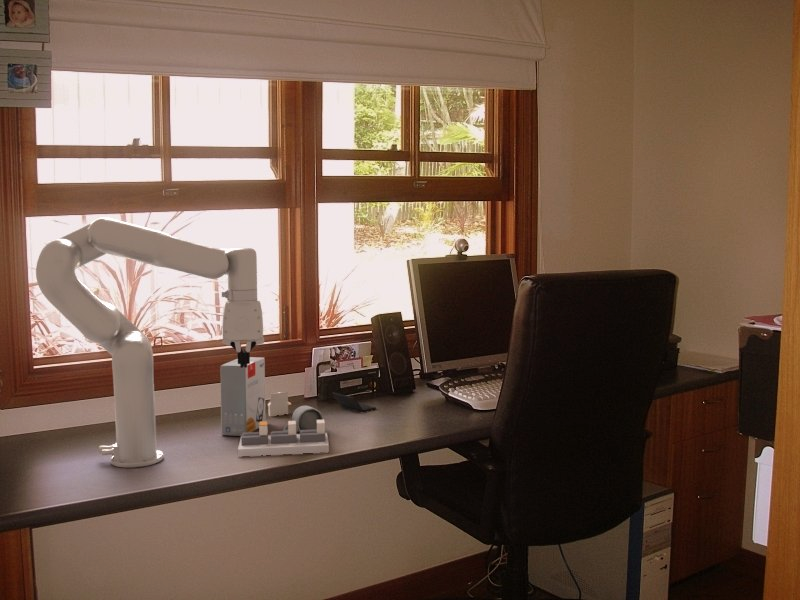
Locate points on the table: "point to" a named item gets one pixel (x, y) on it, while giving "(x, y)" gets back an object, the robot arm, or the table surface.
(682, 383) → the table surface
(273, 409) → the architectural model
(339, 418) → the table surface
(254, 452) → the white slotted rack
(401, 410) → the table surface
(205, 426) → the table surface
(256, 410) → the hard drive box
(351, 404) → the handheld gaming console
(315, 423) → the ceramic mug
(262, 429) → the breaker handle
